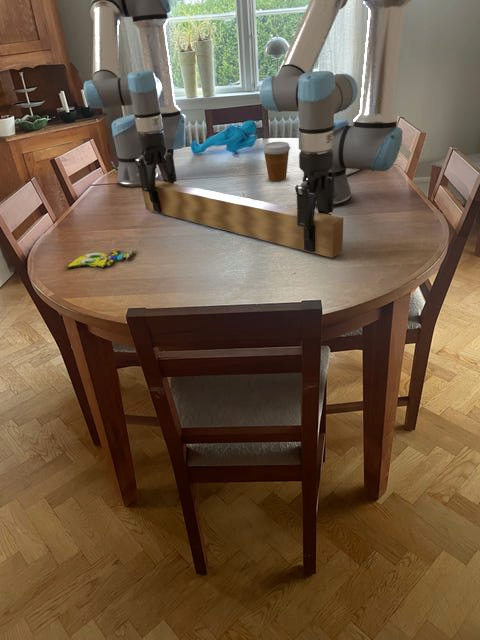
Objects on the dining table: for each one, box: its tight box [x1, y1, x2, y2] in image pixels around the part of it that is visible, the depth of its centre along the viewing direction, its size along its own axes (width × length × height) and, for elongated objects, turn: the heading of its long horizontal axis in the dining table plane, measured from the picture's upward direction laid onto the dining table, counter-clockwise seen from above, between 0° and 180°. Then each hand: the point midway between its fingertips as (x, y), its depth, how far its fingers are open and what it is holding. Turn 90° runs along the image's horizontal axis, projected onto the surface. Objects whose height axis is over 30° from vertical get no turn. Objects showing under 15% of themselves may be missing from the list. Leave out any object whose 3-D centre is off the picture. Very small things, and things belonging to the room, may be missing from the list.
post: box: [141, 179, 344, 259], centre depth 133 cm, size 68×5×8 cm, turn 50°
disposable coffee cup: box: [262, 141, 291, 183], centre depth 169 cm, size 10×10×12 cm
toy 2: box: [189, 120, 258, 155], centre depth 209 cm, size 17×11×30 cm
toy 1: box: [66, 249, 134, 270], centre depth 125 cm, size 10×1×15 cm
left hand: (163, 208), depth 151 cm, fingers closed on post, 5 cm apart
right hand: (315, 246), depth 119 cm, fingers closed on post, 5 cm apart
